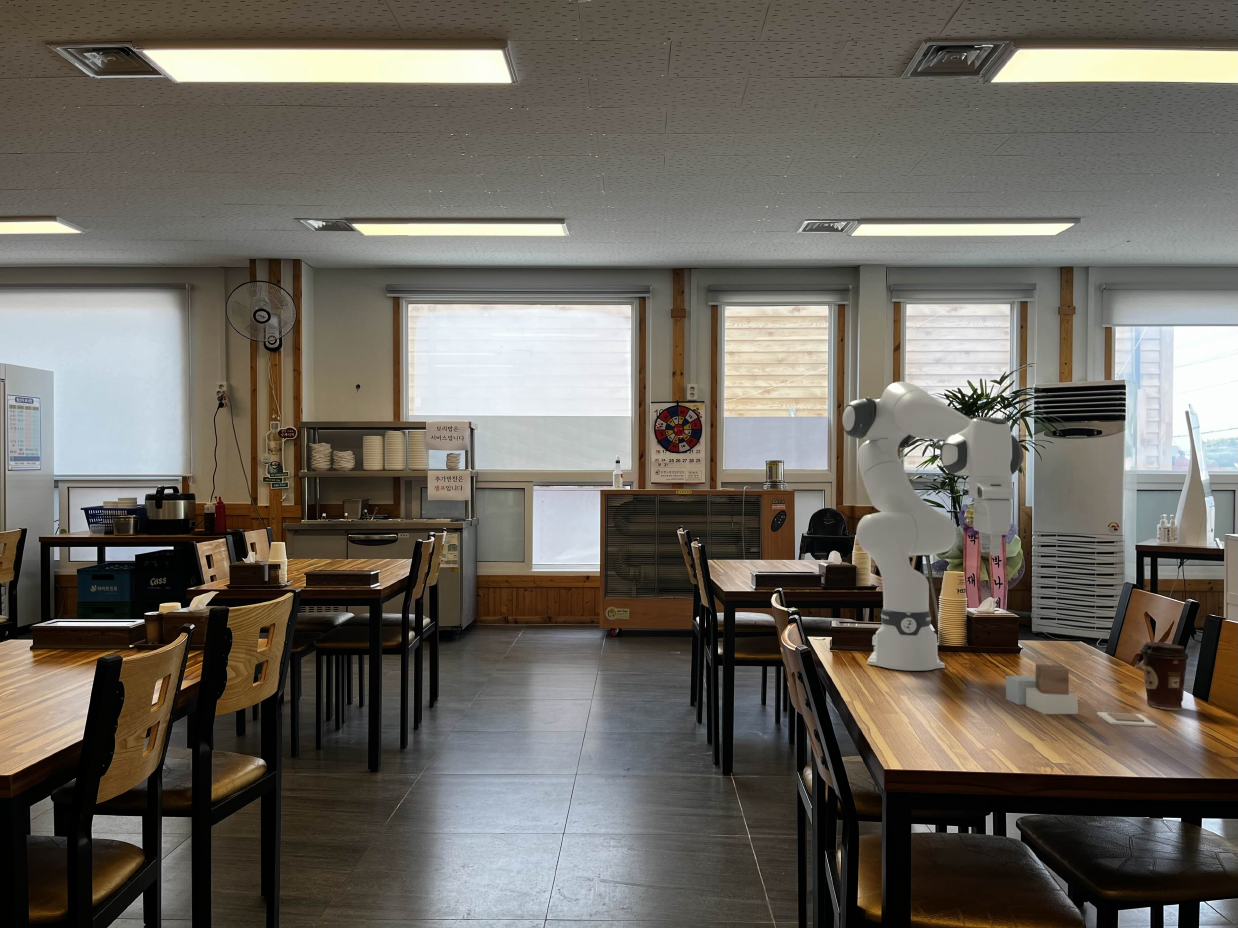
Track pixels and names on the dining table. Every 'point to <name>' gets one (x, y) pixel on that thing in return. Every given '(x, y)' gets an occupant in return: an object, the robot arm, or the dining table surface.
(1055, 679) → the walnut cube
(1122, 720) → the tile
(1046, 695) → the plinth block
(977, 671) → the dining table surface
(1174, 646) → the coffee cup
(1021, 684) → the grey cube
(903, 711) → the dining table surface
